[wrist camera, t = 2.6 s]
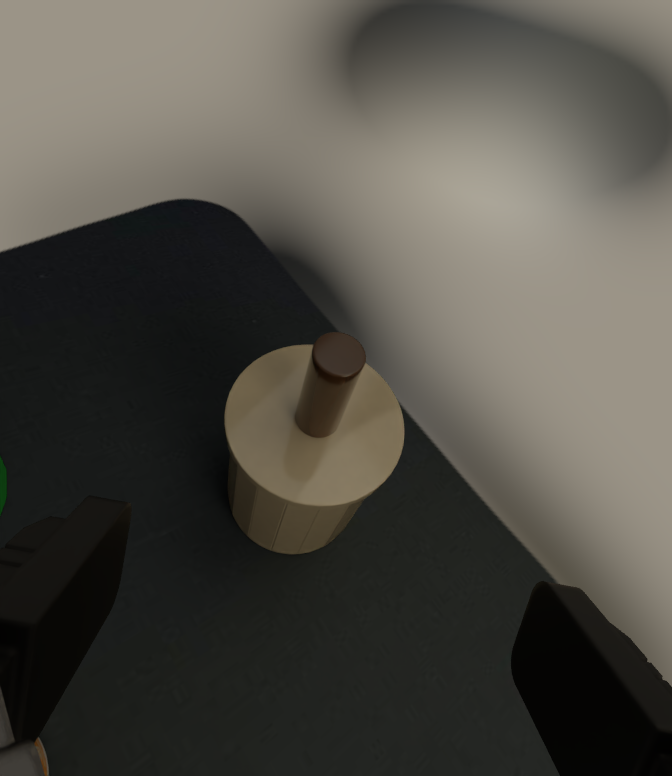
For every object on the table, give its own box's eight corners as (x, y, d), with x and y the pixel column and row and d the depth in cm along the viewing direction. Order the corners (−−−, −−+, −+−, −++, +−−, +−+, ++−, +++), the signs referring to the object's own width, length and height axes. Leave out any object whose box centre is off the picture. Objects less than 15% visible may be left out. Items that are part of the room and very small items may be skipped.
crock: (373, 472, 33) (416, 404, 26) (316, 579, 29) (350, 532, 22) (270, 415, 34) (286, 333, 27) (202, 511, 30) (199, 445, 23)
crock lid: (422, 408, 27) (472, 333, 22) (351, 550, 22) (393, 498, 17) (282, 331, 27) (298, 241, 22) (186, 454, 23) (179, 376, 18)
